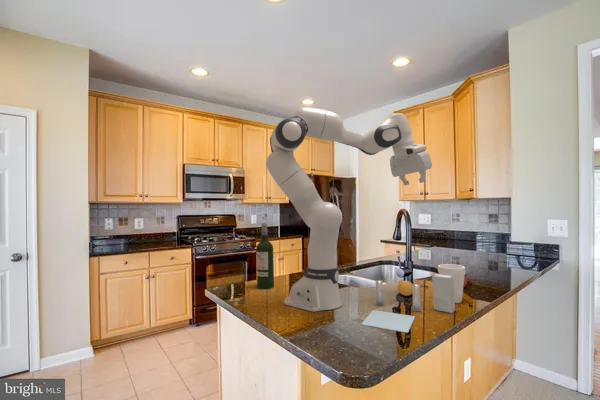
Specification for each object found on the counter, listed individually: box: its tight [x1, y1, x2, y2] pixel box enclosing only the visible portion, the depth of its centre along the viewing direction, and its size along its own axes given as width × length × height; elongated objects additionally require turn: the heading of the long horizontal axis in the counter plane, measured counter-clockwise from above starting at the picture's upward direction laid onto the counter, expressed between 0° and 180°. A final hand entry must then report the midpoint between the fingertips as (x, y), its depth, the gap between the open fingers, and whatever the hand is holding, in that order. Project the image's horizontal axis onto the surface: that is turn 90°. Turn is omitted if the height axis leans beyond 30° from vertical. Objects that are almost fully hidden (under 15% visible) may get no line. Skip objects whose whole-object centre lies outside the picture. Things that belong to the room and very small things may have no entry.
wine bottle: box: [255, 222, 275, 290], centre depth 142 cm, size 8×8×30 cm
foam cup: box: [437, 263, 466, 304], centre depth 116 cm, size 10×9×13 cm
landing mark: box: [361, 309, 416, 334], centre depth 97 cm, size 14×14×1 cm
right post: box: [411, 283, 422, 312], centre depth 107 cm, size 3×3×9 cm
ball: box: [397, 280, 413, 297], centre depth 124 cm, size 6×6×6 cm
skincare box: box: [431, 273, 456, 314], centre depth 106 cm, size 6×4×12 cm
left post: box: [375, 279, 384, 307], centre depth 113 cm, size 3×3×9 cm
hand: (414, 183), depth 126 cm, fingers open, 8 cm apart
